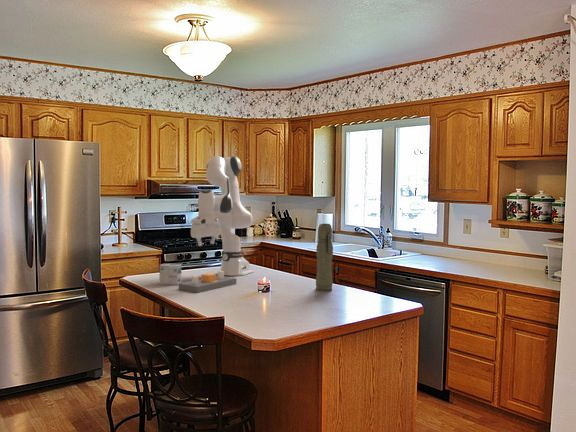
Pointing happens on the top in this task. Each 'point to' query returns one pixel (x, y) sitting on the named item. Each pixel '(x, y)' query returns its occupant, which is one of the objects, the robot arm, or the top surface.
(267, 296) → the top surface
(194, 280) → the outer breaker
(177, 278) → the light bulb box
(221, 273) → the inner breaker
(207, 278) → the lockout cap
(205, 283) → the breaker panel
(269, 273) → the top surface
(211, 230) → the robot arm
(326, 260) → the thermos
